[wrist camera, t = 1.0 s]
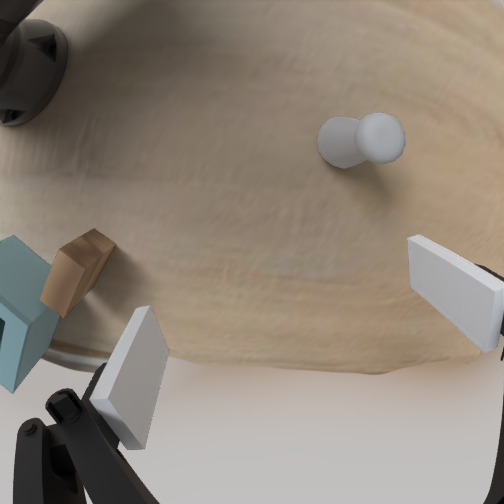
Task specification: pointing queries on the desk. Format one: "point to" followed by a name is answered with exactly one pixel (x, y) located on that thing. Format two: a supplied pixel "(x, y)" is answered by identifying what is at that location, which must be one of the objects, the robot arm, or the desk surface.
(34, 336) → the coin box
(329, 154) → the salt shaker
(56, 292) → the block
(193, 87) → the desk surface
